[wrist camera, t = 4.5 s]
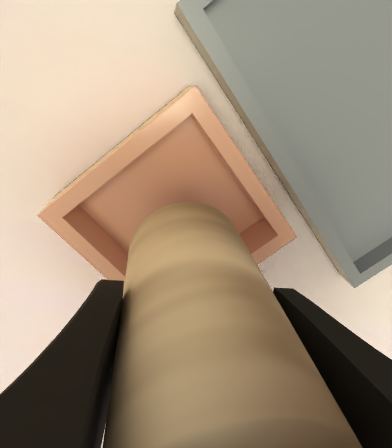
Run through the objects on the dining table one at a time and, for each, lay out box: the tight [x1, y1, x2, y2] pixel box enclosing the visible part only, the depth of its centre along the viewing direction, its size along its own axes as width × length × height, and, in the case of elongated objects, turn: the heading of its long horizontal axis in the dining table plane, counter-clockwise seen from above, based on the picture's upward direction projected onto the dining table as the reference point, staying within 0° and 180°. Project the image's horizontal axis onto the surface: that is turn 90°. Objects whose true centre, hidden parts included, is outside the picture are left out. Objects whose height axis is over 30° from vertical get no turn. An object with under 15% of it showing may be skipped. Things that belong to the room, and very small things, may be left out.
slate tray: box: [174, 0, 392, 288], centre depth 17 cm, size 20×14×2 cm
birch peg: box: [103, 202, 362, 448], centre depth 8 cm, size 4×4×8 cm
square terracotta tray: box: [37, 86, 297, 291], centre depth 17 cm, size 10×10×3 cm
